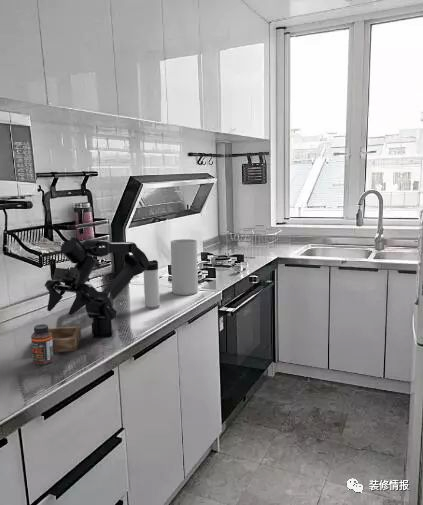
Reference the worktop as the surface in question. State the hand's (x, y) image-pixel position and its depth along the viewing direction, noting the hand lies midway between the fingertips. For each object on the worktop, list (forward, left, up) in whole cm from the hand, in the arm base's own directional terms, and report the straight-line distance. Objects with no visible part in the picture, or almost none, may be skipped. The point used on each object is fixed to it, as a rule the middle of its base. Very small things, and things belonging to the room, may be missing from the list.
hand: (58, 312), depth 145 cm
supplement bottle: (+4, +6, -14) cm, 16 cm away
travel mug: (-30, -48, -14) cm, 58 cm away
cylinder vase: (-46, -71, -14) cm, 85 cm away
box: (+2, -8, -13) cm, 16 cm away
